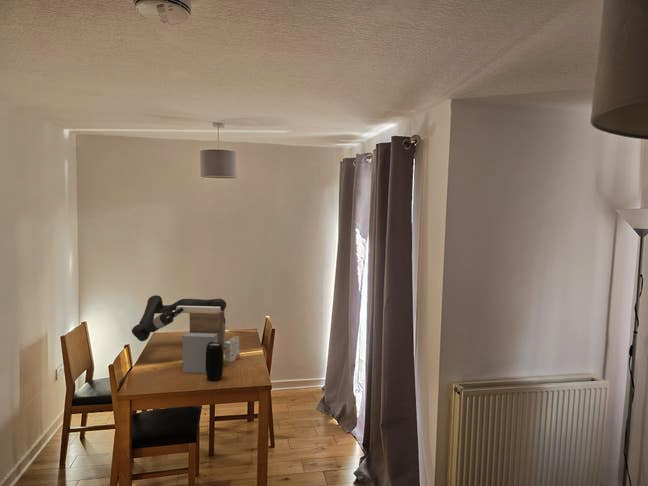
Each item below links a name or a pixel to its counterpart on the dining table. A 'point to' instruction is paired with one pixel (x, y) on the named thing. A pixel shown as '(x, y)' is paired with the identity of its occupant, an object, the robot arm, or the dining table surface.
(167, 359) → the dining table surface
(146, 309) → the robot arm
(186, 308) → the cream bar
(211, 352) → the portable speaker
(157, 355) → the dining table surface
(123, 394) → the dining table surface
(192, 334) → the grey stand
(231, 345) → the ink cartridge box
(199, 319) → the walnut pedestal
